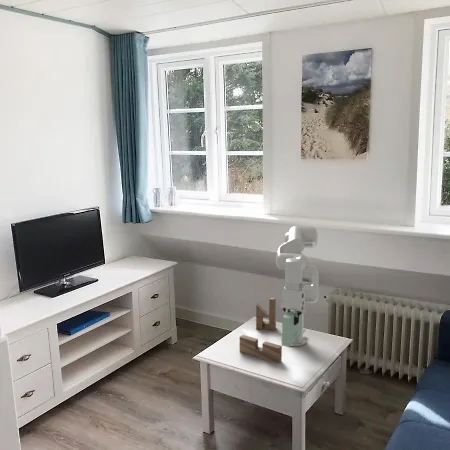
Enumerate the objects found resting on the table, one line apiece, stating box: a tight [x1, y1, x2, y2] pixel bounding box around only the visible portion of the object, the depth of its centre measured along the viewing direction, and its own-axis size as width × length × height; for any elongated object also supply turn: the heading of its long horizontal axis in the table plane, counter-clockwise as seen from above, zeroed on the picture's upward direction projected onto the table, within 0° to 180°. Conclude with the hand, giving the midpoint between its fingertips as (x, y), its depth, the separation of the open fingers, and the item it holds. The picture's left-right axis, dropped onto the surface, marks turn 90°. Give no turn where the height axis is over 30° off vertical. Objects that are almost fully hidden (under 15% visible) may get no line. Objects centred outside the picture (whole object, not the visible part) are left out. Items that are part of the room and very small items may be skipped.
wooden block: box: [255, 296, 277, 331], centre depth 262 cm, size 4×11×18 cm, turn 80°
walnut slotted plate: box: [239, 334, 283, 365], centre depth 232 cm, size 3×22×8 cm, turn 55°
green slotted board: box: [281, 309, 302, 348], centre depth 219 cm, size 14×3×14 cm, turn 145°
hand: (292, 322), depth 219 cm, fingers closed on green slotted board, 3 cm apart
